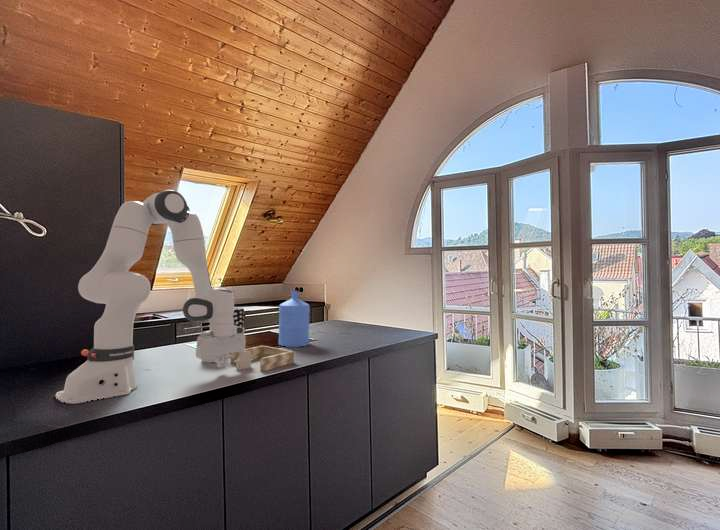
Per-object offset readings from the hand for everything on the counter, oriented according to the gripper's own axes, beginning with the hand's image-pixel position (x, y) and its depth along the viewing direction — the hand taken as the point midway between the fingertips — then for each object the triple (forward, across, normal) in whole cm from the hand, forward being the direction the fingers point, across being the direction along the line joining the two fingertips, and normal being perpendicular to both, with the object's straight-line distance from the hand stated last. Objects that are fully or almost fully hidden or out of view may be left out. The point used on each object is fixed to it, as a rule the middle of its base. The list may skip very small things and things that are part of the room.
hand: (221, 366), depth 160 cm
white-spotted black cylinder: (+3, +29, +29) cm, 41 cm away
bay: (+3, +20, 0) cm, 21 cm away
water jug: (+3, +58, +18) cm, 61 cm away
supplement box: (+3, +11, +20) cm, 23 cm away
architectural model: (+4, +10, 0) cm, 11 cm away
